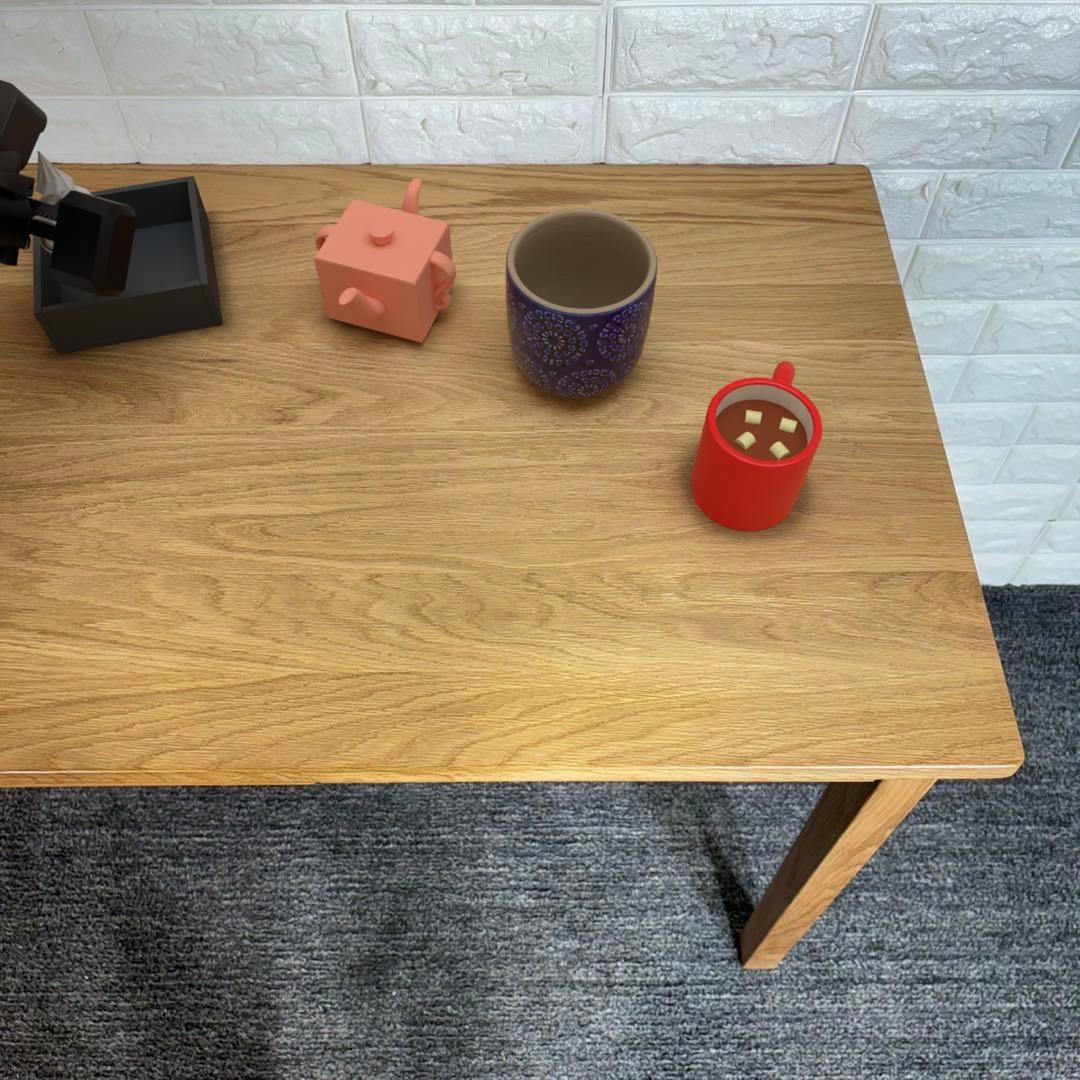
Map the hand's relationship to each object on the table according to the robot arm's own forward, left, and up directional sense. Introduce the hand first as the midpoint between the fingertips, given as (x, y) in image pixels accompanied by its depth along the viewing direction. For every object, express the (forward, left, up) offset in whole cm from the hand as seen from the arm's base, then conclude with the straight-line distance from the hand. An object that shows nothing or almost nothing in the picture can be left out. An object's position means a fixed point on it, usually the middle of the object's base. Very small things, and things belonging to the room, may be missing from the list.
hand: (88, 229), depth 77 cm
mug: (+45, -29, -8) cm, 54 cm away
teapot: (+22, -6, -8) cm, 24 cm away
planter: (+35, -16, -8) cm, 39 cm away
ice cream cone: (-1, -1, -7) cm, 8 cm away
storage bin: (+1, +2, -8) cm, 8 cm away
